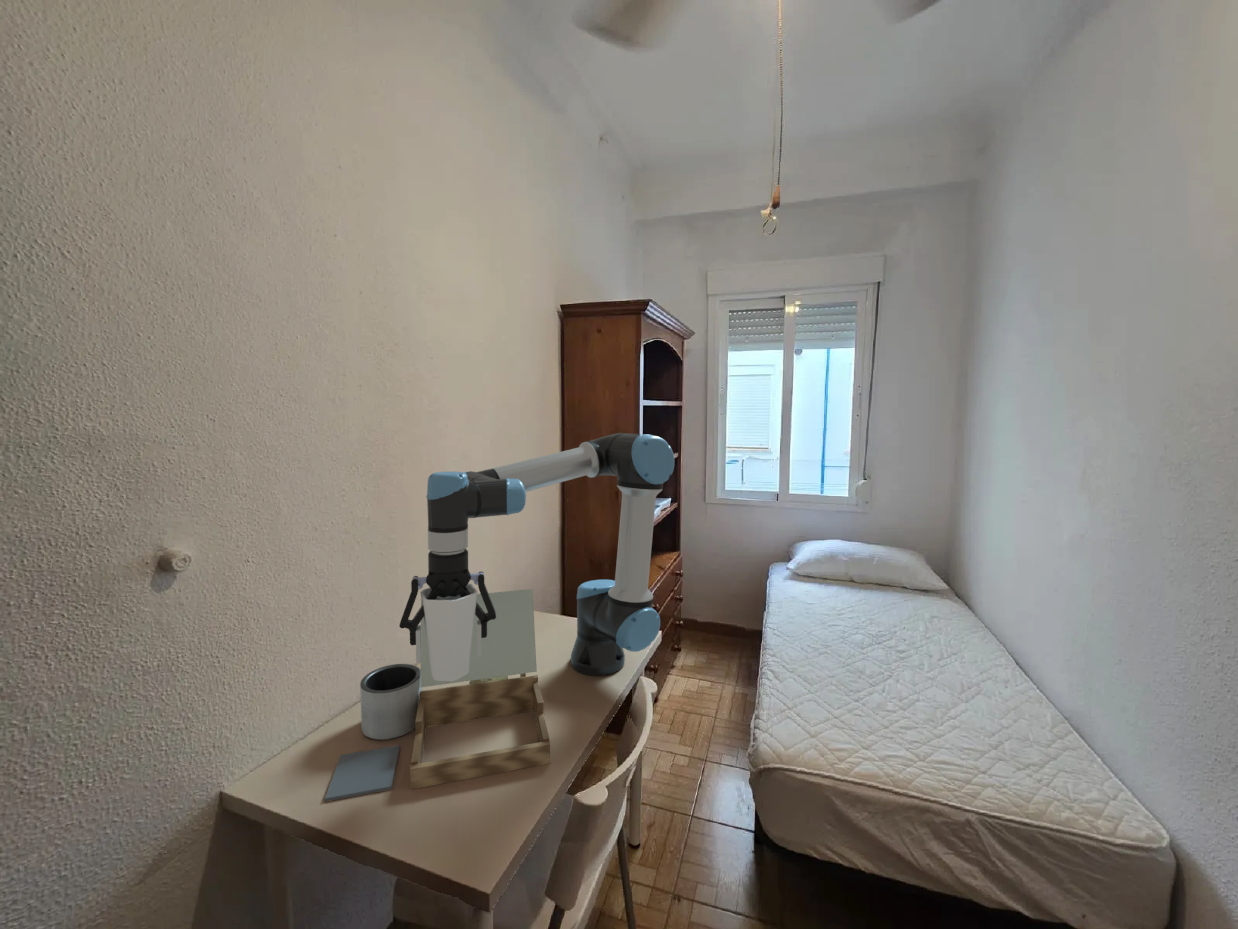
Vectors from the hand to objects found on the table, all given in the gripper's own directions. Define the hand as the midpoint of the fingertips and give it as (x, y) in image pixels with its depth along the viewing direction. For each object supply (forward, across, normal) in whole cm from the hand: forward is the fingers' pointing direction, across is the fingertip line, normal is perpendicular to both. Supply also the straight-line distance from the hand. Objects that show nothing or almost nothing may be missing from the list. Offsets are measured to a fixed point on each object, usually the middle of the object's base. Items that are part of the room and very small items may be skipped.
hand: (449, 656), depth 102 cm
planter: (+21, +13, -13) cm, 28 cm away
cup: (+4, 0, 0) cm, 4 cm away
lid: (+3, -6, -14) cm, 16 cm away
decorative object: (+21, -8, -18) cm, 29 cm away
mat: (+21, +16, +2) cm, 26 cm away
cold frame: (+20, -6, -3) cm, 22 cm away
